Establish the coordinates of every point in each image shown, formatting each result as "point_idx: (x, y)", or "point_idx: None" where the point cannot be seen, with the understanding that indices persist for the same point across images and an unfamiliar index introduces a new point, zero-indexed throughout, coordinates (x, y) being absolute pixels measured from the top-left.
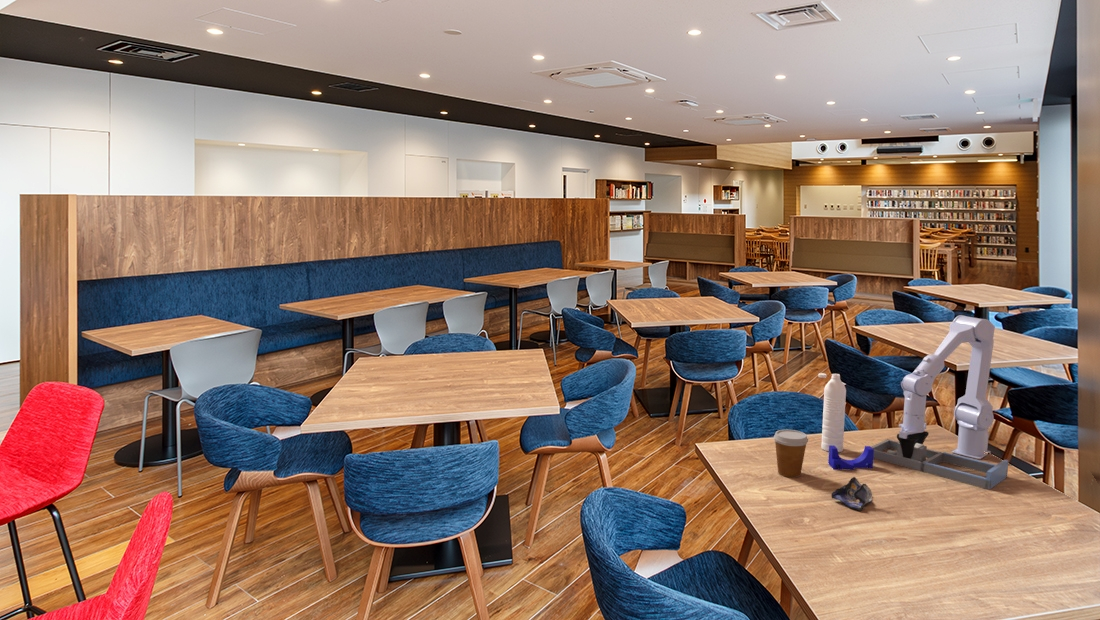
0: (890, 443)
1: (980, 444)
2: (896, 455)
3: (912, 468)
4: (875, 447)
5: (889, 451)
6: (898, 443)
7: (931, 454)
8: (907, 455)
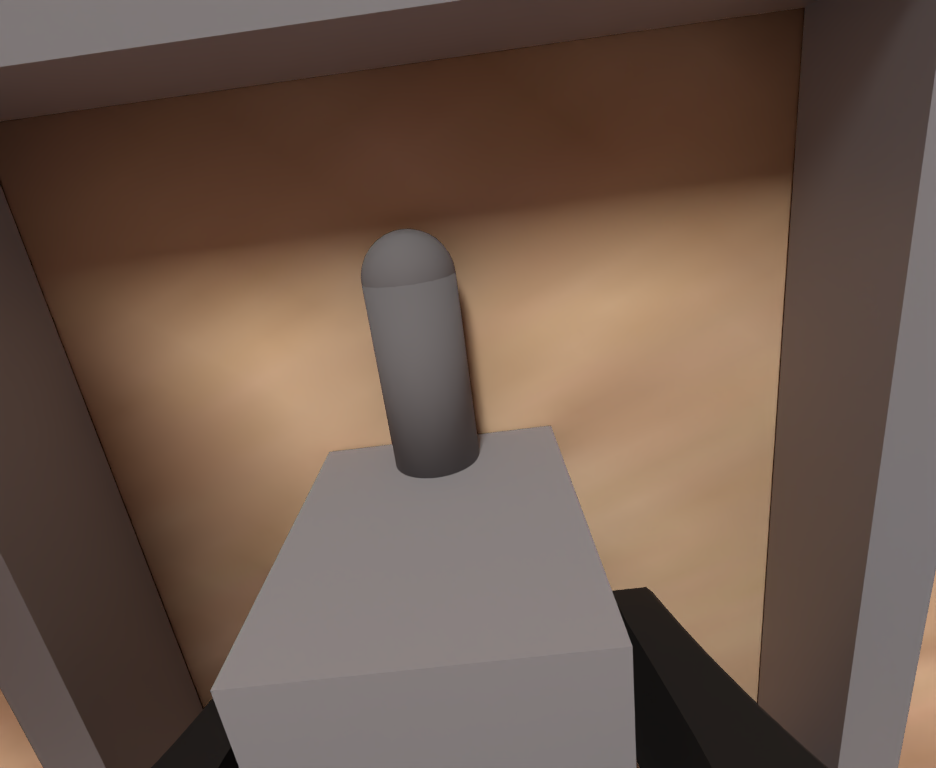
0: (883, 7)
1: None
2: (38, 663)
3: None
4: (21, 66)
5: (374, 296)
6: (222, 711)
7: None
8: None
